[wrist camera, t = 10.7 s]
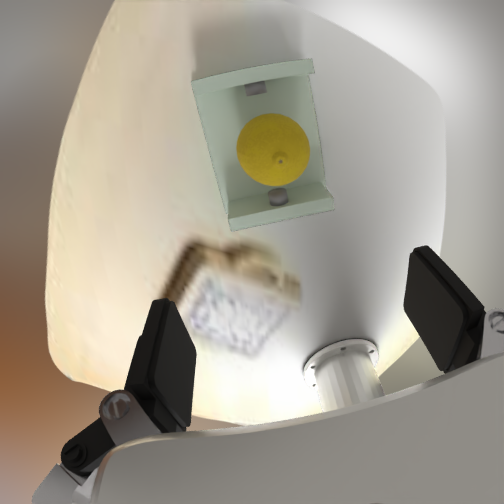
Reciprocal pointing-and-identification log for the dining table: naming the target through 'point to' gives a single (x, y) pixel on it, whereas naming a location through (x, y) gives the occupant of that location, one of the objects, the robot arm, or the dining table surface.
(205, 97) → the holder
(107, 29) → the dining table surface
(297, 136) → the lemon
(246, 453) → the robot arm
